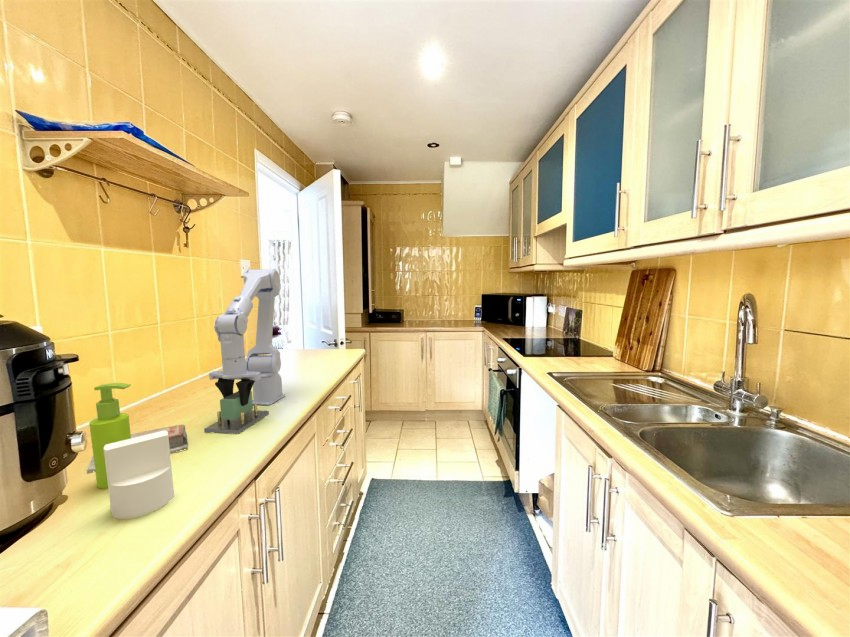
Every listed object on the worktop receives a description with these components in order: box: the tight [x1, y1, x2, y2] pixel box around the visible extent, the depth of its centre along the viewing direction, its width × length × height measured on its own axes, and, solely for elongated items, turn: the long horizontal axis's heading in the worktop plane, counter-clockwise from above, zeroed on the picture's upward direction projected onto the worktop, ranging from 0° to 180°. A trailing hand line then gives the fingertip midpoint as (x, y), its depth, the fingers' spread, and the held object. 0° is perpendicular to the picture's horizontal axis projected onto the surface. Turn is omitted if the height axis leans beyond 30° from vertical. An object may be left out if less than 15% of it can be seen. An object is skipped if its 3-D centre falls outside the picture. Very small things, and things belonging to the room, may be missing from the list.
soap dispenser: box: [88, 382, 132, 490], centre depth 72 cm, size 6×7×20 cm
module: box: [219, 390, 254, 420], centre depth 101 cm, size 8×4×6 cm, turn 172°
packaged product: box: [86, 424, 189, 473], centre depth 85 cm, size 18×5×10 cm
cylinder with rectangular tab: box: [104, 430, 175, 520], centre depth 65 cm, size 9×9×12 cm
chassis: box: [203, 404, 270, 435], centre depth 101 cm, size 14×10×4 cm
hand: (237, 404), depth 101 cm, fingers closed on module, 4 cm apart
